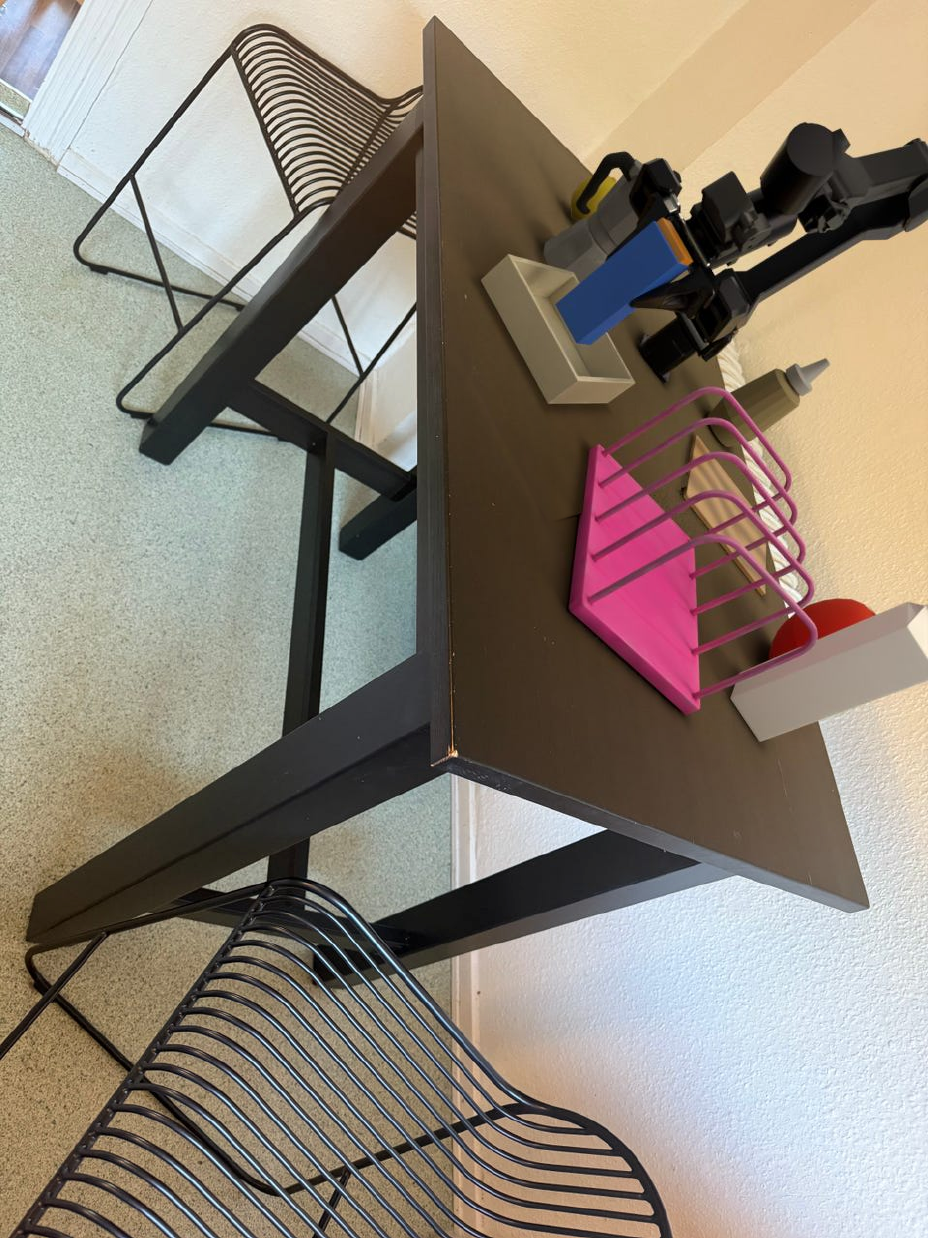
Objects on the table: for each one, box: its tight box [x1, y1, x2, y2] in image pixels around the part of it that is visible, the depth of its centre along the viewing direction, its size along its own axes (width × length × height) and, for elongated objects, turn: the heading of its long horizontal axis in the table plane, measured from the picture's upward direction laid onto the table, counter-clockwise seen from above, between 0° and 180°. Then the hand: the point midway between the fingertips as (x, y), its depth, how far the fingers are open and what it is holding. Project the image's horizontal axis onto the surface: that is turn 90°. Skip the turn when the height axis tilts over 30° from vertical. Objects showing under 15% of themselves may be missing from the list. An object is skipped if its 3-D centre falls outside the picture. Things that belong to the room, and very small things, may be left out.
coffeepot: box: [543, 151, 683, 283], centre depth 102 cm, size 15×9×18 cm, turn 103°
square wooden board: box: [682, 434, 767, 597], centre depth 113 cm, size 18×18×1 cm
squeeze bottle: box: [707, 357, 831, 448], centre depth 122 cm, size 8×8×18 cm
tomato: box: [768, 597, 877, 661], centre depth 96 cm, size 13×11×14 cm
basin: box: [480, 253, 636, 405], centre depth 92 cm, size 15×15×5 cm
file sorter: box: [568, 386, 818, 716], centre depth 79 cm, size 17×25×16 cm
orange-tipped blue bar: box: [555, 218, 693, 345], centre depth 86 cm, size 4×5×14 cm
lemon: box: [570, 174, 618, 221], centre depth 119 cm, size 6×6×8 cm
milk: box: [729, 601, 928, 743], centre depth 84 cm, size 6×6×22 cm
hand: (618, 281), depth 85 cm, fingers closed on orange-tipped blue bar, 5 cm apart
